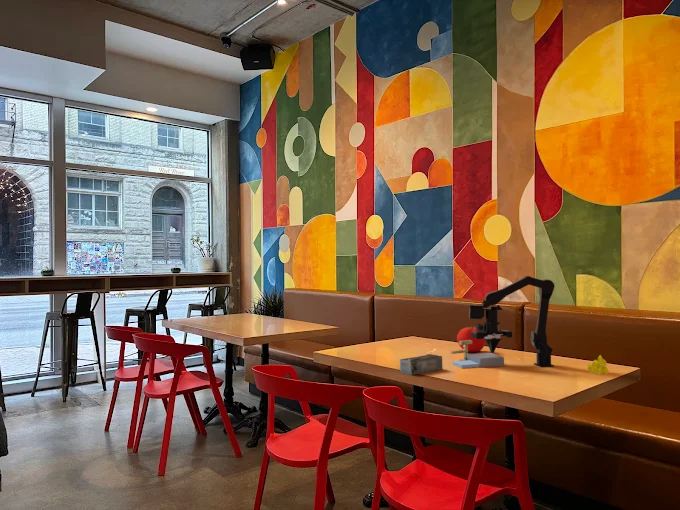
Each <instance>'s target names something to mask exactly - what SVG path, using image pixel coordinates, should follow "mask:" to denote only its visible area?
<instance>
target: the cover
mask: <svg viewBox="0 0 680 510" xmlns="http://www.w3.org/2000/svg"><path fill="white" fill-rule="evenodd" d="M452 365H453V366H455V367H457V368H460V369H471V368H472V367H475V368H481V367H480V364H479V363H476V362H473V361H471V360H464V361H461V360H452Z"/></svg>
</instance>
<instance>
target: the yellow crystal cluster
mask: <svg viewBox="0 0 680 510" xmlns="http://www.w3.org/2000/svg"><path fill="white" fill-rule="evenodd" d="M607 363H608V362H607V360H606V359H604V358H603V357H602V355H601V354H600V355H599V356H598V357H597V359H594V360H592V364H591V363H588V365H587V372H590V373H592V374H599V375H601V374H606V375H607V374H609V369H608V368H607Z"/></svg>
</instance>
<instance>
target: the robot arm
mask: <svg viewBox="0 0 680 510" xmlns="http://www.w3.org/2000/svg"><path fill="white" fill-rule="evenodd" d="M527 286H532V287H536V288H538V296H539V301H538V308H537V309H538V312H537V318H536V327H535V329H534V331H530V338H529V340H530V343H531V344H532V346H533V347H534V348H535V349H536V354H535V355H536V362H534V363H533V365H535V366H539V367H542V368H546V367H554V366H555V365H554V364H552V352H553V348H552V347H551V346H550V345H549V344H548V336H547V331H546V329H547V322H548V314H549V306H550V300H551V297H552V296H553V293H554V290H555V283H554V282H553V280H552V279H545V278H544V279H538V278H535V277H532V276H530V275H525V276H523V277H521V278H520V279H518V280H516V281H515V282H512V283H510V284H508V285H507V286H505V287H503V288H500V289H496V290H493V291H490V292H488V293H486V294H485V296H484V299H483V301H482V303H481V304H469V309H468V310H469V311H468V318H469V320H482V319H483V318H485V320H484V321H483V324H481V323H476V324H475V326H476V330H477V331H474V332H472V333H471V337H472V338H475V339H485V343H486V344H487V346H488V349H489V351H490V353H493V354H495V351H496V348H497V346H498V345H499V343H500V342H501V341H502V340H503V338H501V337H506V338H514V333H513V331H511V330H508V329H500V330H499V325H500V324H501V322H500V321H499V311H502V310H503V308H502V307H501V306H500V304H499V303H500V302H501V301H502V300H504V299H505V298H506V297H508V296H509V295H511V294H513V293H515V292H517V291H519V290H522V289H523V288H525V287H527Z"/></svg>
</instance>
